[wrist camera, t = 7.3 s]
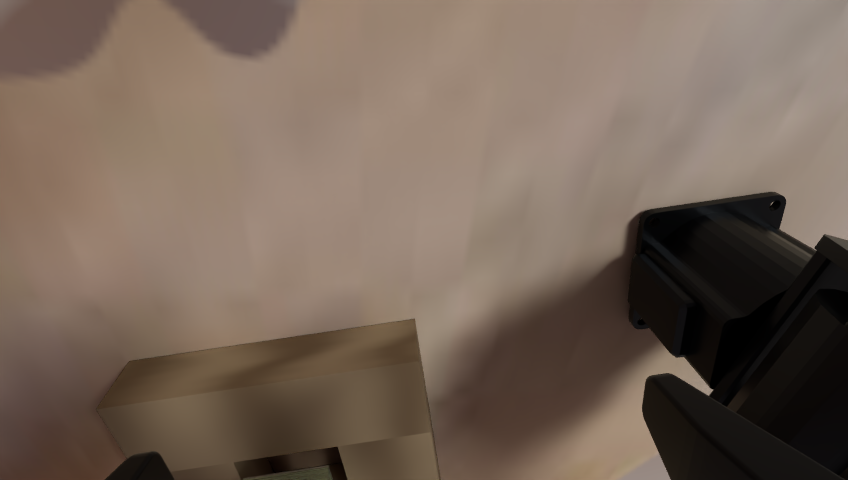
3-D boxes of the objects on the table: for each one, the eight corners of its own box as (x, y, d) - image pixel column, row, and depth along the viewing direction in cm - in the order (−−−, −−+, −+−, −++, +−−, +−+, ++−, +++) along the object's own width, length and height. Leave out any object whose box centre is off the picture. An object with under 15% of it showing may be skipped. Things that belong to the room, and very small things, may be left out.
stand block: (414, 319, 23) (419, 369, 20) (443, 496, 29) (450, 555, 26) (129, 361, 23) (89, 418, 20) (221, 530, 29) (202, 594, 26)
